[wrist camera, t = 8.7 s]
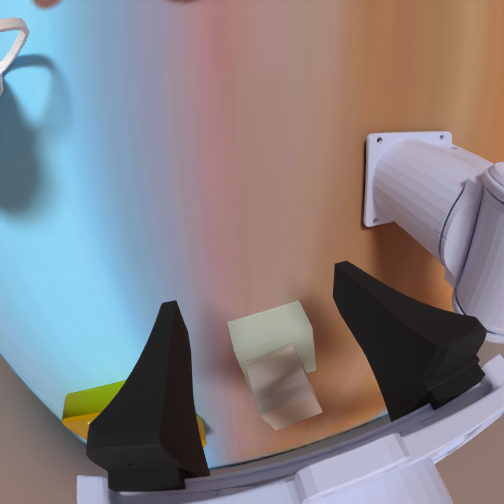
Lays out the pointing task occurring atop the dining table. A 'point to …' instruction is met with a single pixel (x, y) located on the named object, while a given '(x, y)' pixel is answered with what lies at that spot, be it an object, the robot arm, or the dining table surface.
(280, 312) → the sage base block
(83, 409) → the element tile
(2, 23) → the cup
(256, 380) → the ash block
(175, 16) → the dining table surface
